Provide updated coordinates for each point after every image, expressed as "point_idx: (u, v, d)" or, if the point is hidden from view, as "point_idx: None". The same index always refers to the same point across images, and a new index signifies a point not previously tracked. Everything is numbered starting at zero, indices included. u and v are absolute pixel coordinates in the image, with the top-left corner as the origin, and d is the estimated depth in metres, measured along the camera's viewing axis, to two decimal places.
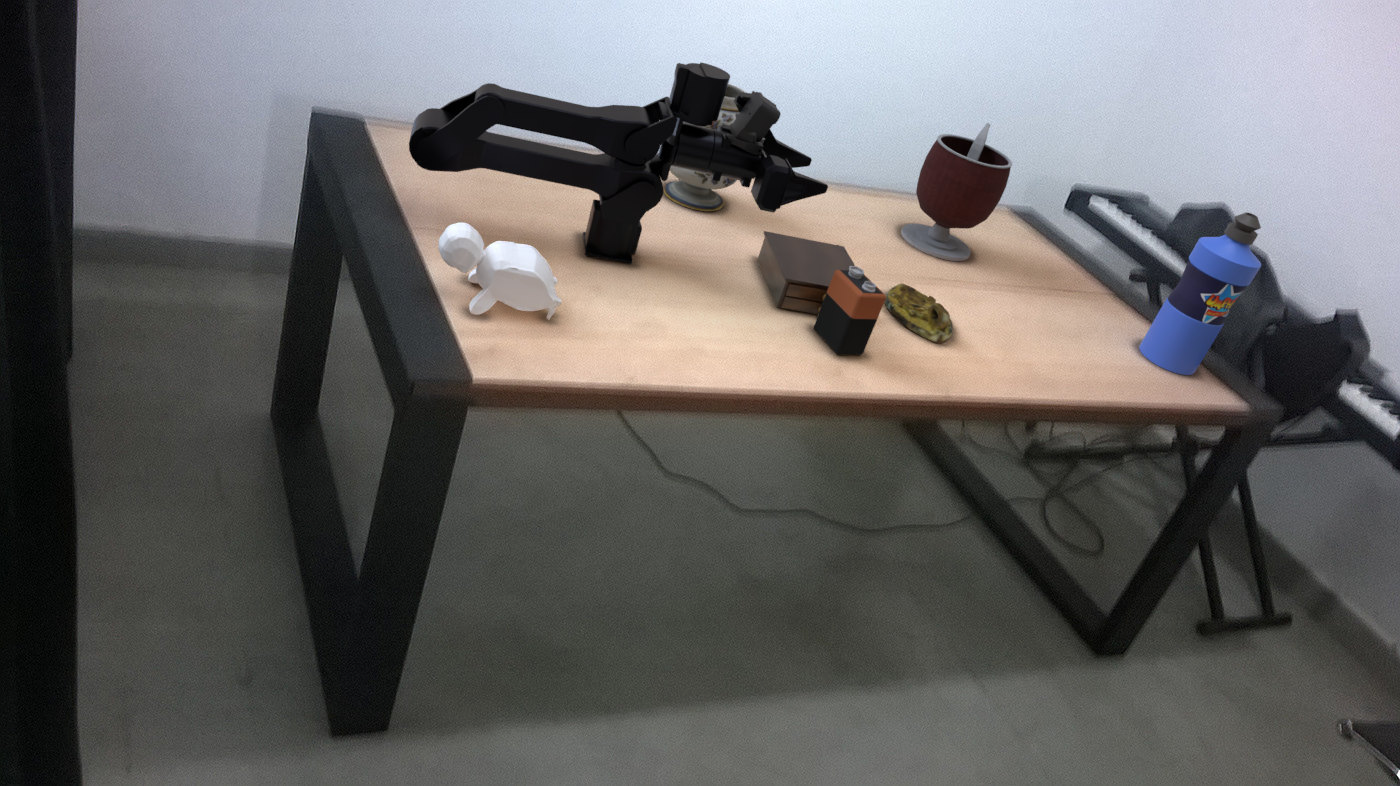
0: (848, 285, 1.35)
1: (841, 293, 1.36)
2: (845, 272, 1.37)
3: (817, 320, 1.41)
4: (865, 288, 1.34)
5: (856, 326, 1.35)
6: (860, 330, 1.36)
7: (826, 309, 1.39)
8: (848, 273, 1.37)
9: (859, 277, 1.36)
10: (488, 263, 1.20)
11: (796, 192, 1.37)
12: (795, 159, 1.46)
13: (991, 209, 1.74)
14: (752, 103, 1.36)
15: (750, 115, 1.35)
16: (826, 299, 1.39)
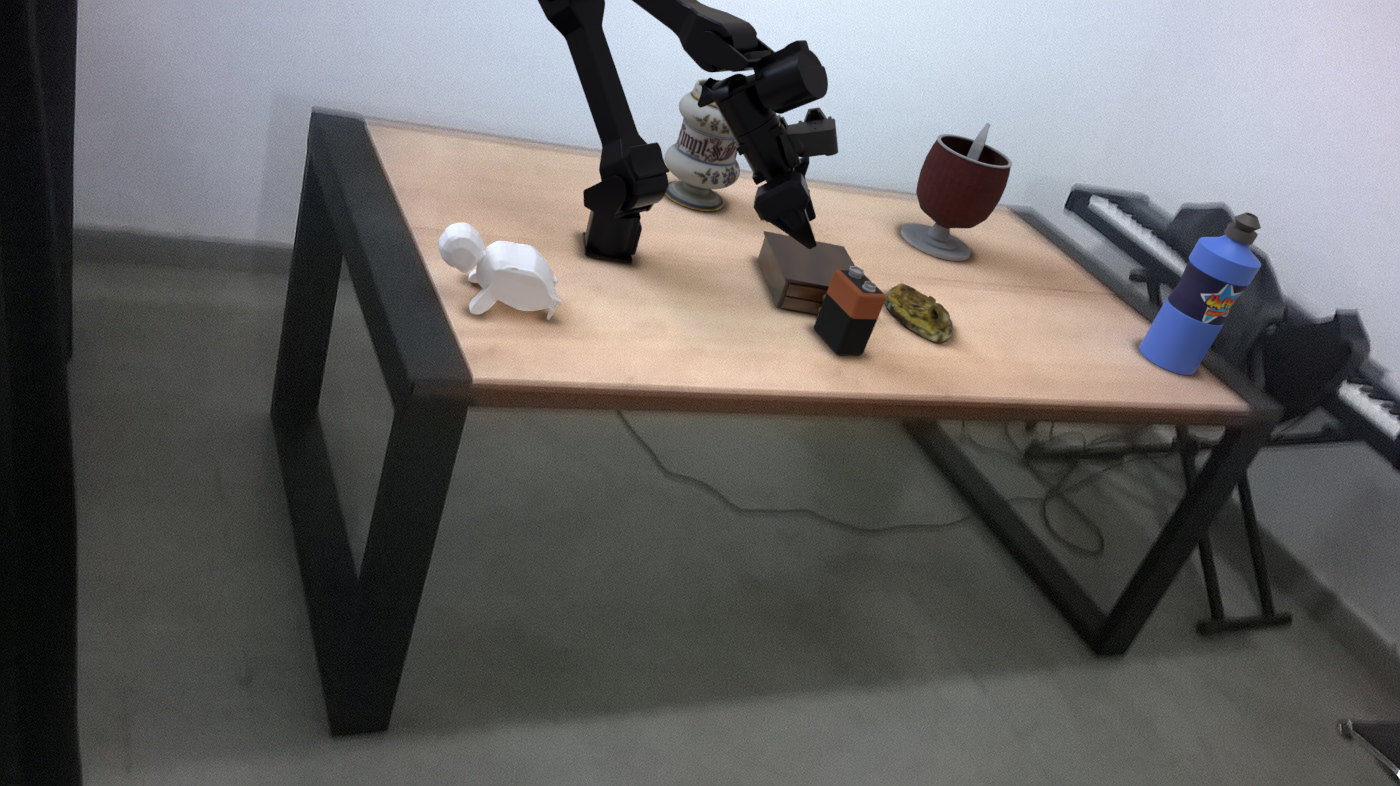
0: (848, 285, 1.35)
1: (841, 293, 1.36)
2: (845, 272, 1.37)
3: (817, 320, 1.41)
4: (865, 288, 1.34)
5: (856, 326, 1.35)
6: (860, 330, 1.36)
7: (826, 309, 1.39)
8: (848, 273, 1.37)
9: (859, 277, 1.36)
10: (488, 263, 1.20)
11: (790, 224, 1.27)
12: None
13: (991, 209, 1.74)
14: (823, 123, 1.26)
15: (815, 129, 1.25)
16: (826, 299, 1.39)
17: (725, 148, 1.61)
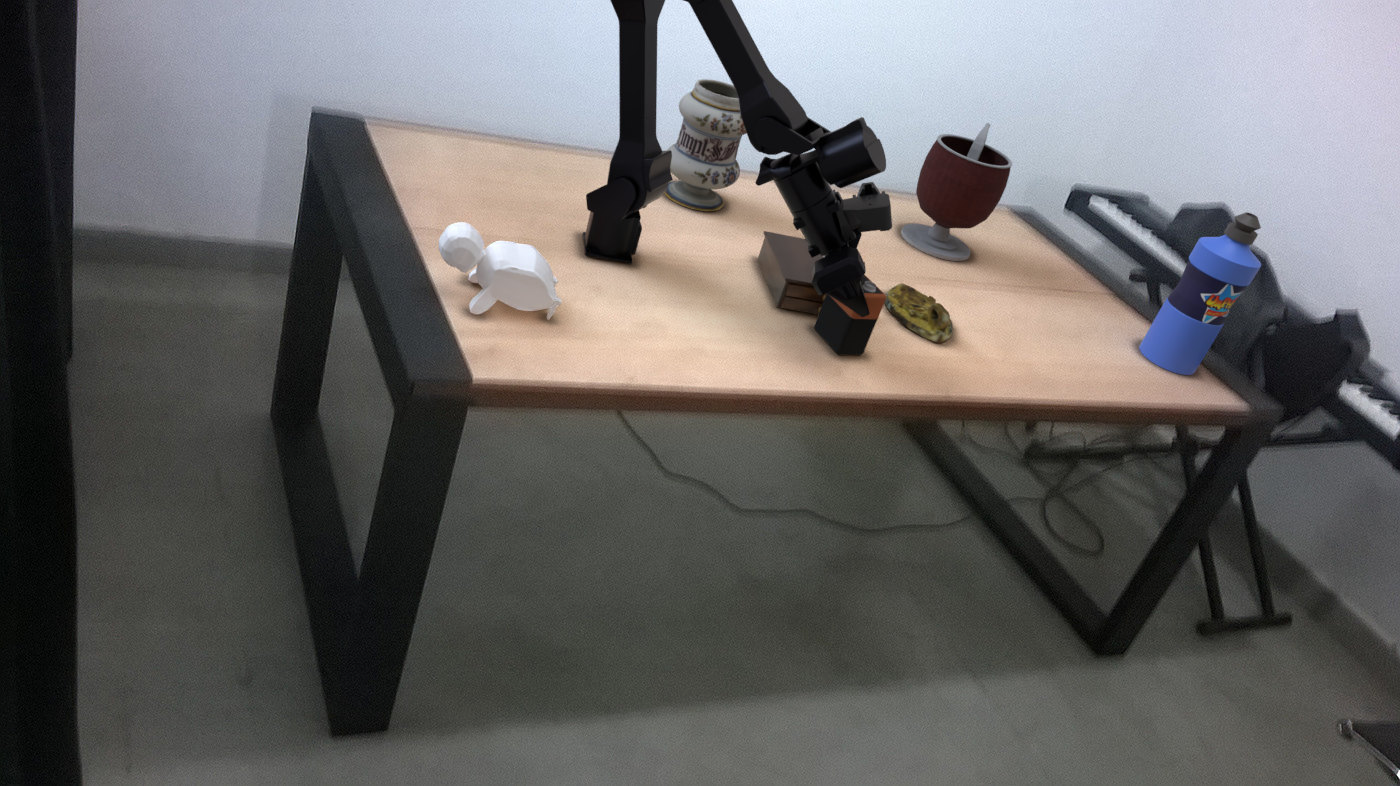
0: None
1: None
2: None
3: (817, 320, 1.41)
4: (865, 288, 1.34)
5: (856, 326, 1.35)
6: (860, 330, 1.36)
7: (826, 309, 1.39)
8: None
9: None
10: (488, 263, 1.20)
11: (845, 295, 1.31)
12: None
13: (991, 209, 1.74)
14: (878, 199, 1.31)
15: (870, 206, 1.29)
16: (826, 299, 1.39)
17: (725, 148, 1.61)
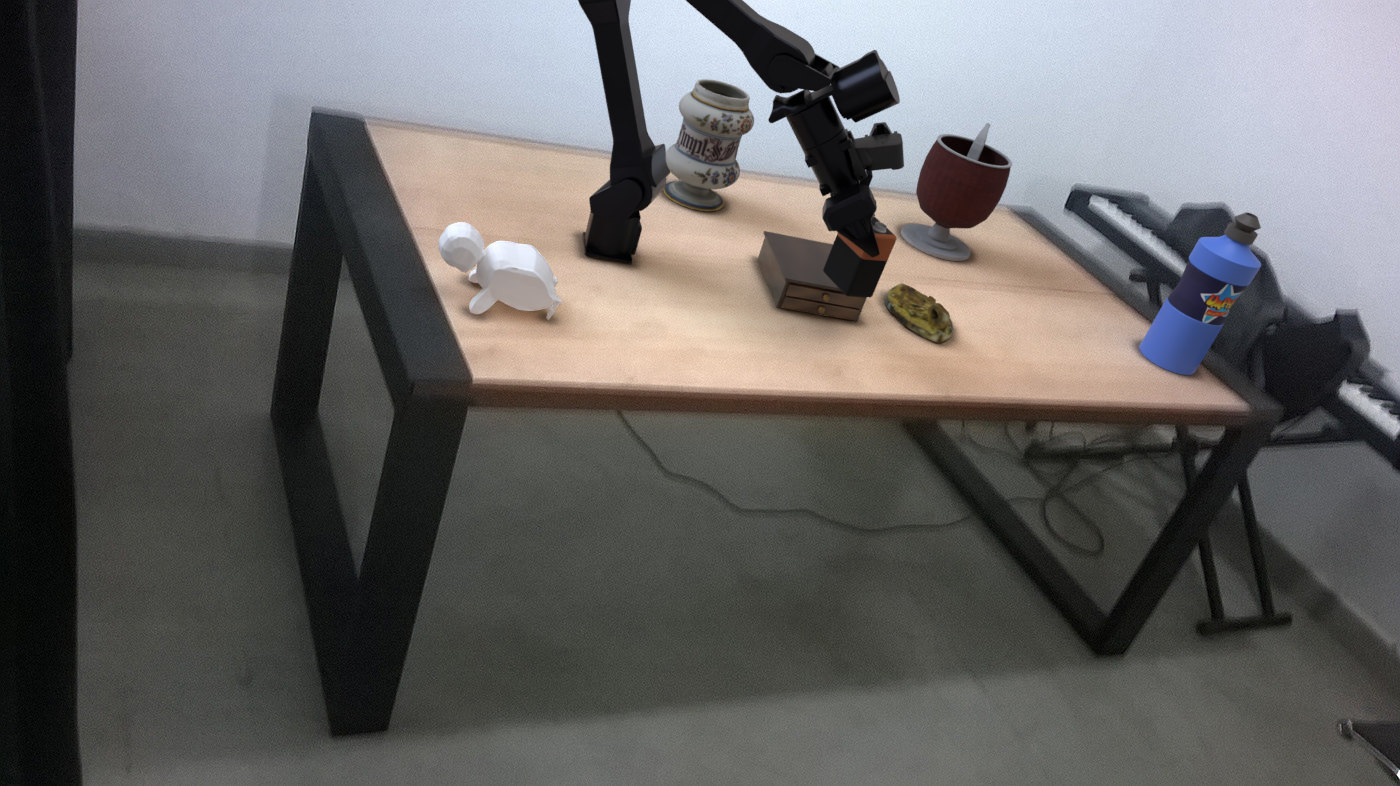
0: None
1: None
2: None
3: (827, 263, 1.40)
4: (876, 229, 1.34)
5: (866, 267, 1.35)
6: (870, 271, 1.36)
7: (836, 251, 1.39)
8: None
9: None
10: (487, 263, 1.20)
11: (855, 233, 1.31)
12: None
13: (991, 209, 1.74)
14: (890, 138, 1.30)
15: (882, 144, 1.29)
16: (836, 241, 1.39)
17: (725, 148, 1.61)
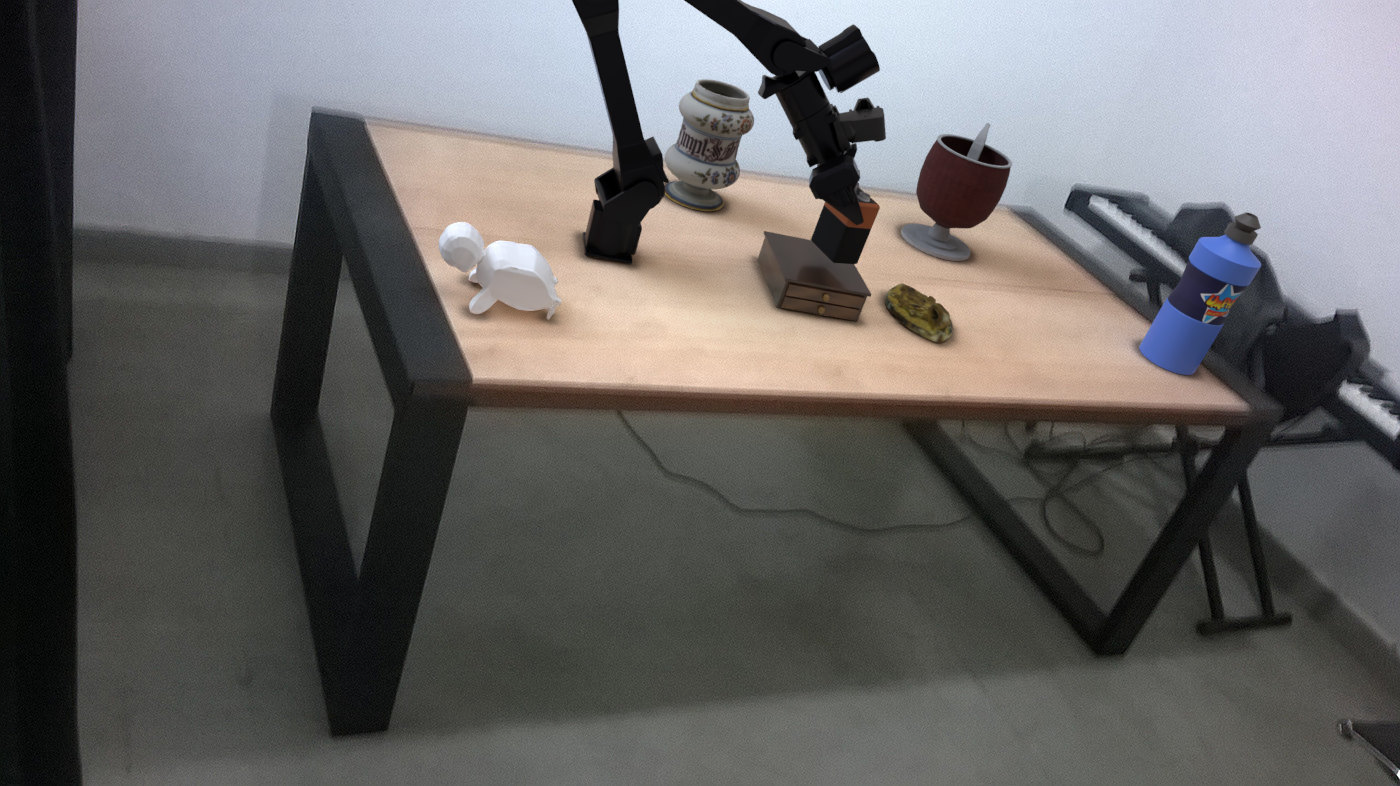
0: None
1: None
2: None
3: (814, 232, 1.49)
4: (860, 198, 1.42)
5: (851, 235, 1.43)
6: (855, 239, 1.44)
7: (823, 220, 1.47)
8: None
9: (855, 189, 1.45)
10: (488, 263, 1.20)
11: (840, 202, 1.39)
12: None
13: (991, 209, 1.74)
14: (872, 112, 1.39)
15: (865, 117, 1.37)
16: (823, 211, 1.47)
17: (725, 148, 1.61)
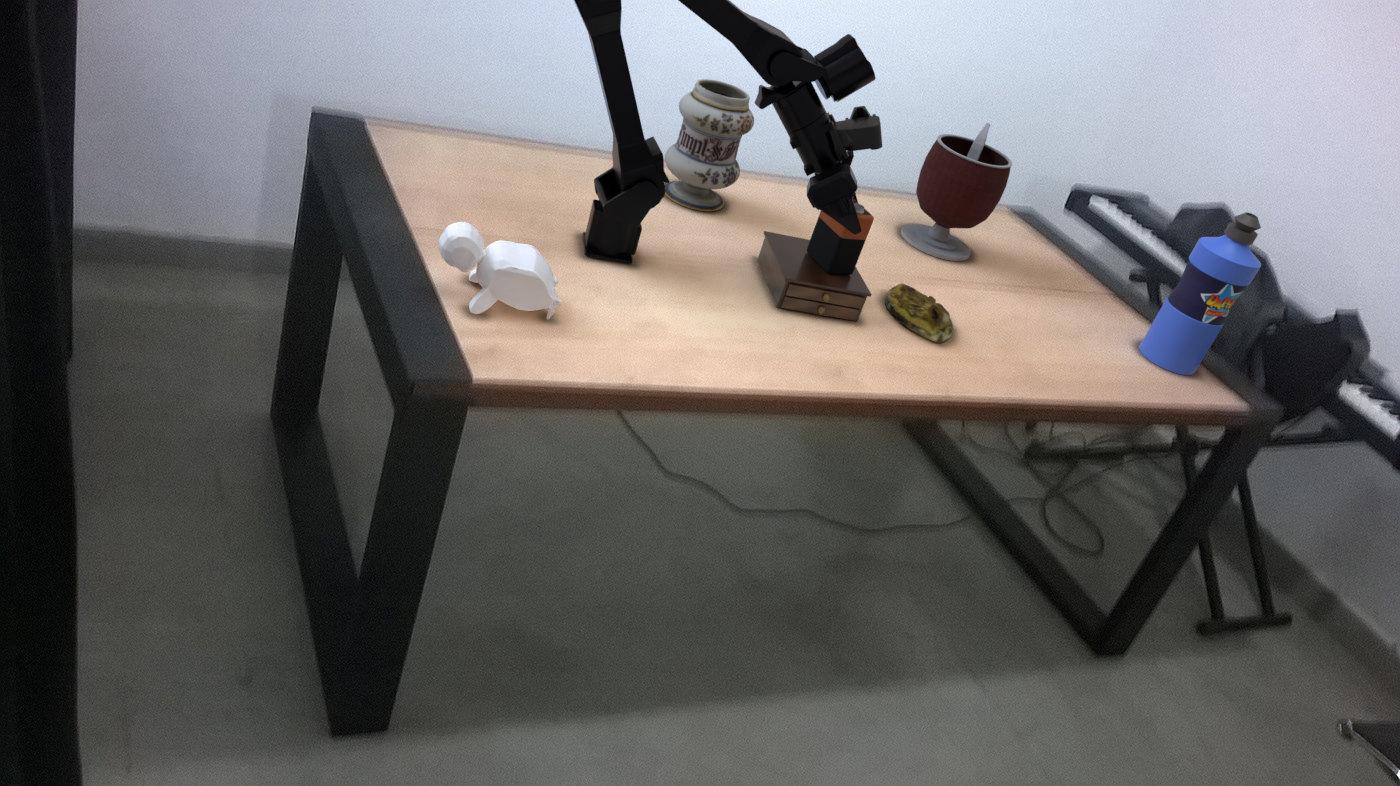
0: None
1: None
2: None
3: (810, 243, 1.50)
4: None
5: (846, 246, 1.45)
6: (850, 250, 1.45)
7: (818, 232, 1.48)
8: None
9: None
10: (487, 262, 1.20)
11: (838, 212, 1.40)
12: None
13: (991, 209, 1.74)
14: (869, 120, 1.40)
15: (861, 126, 1.38)
16: (818, 223, 1.48)
17: (725, 148, 1.61)
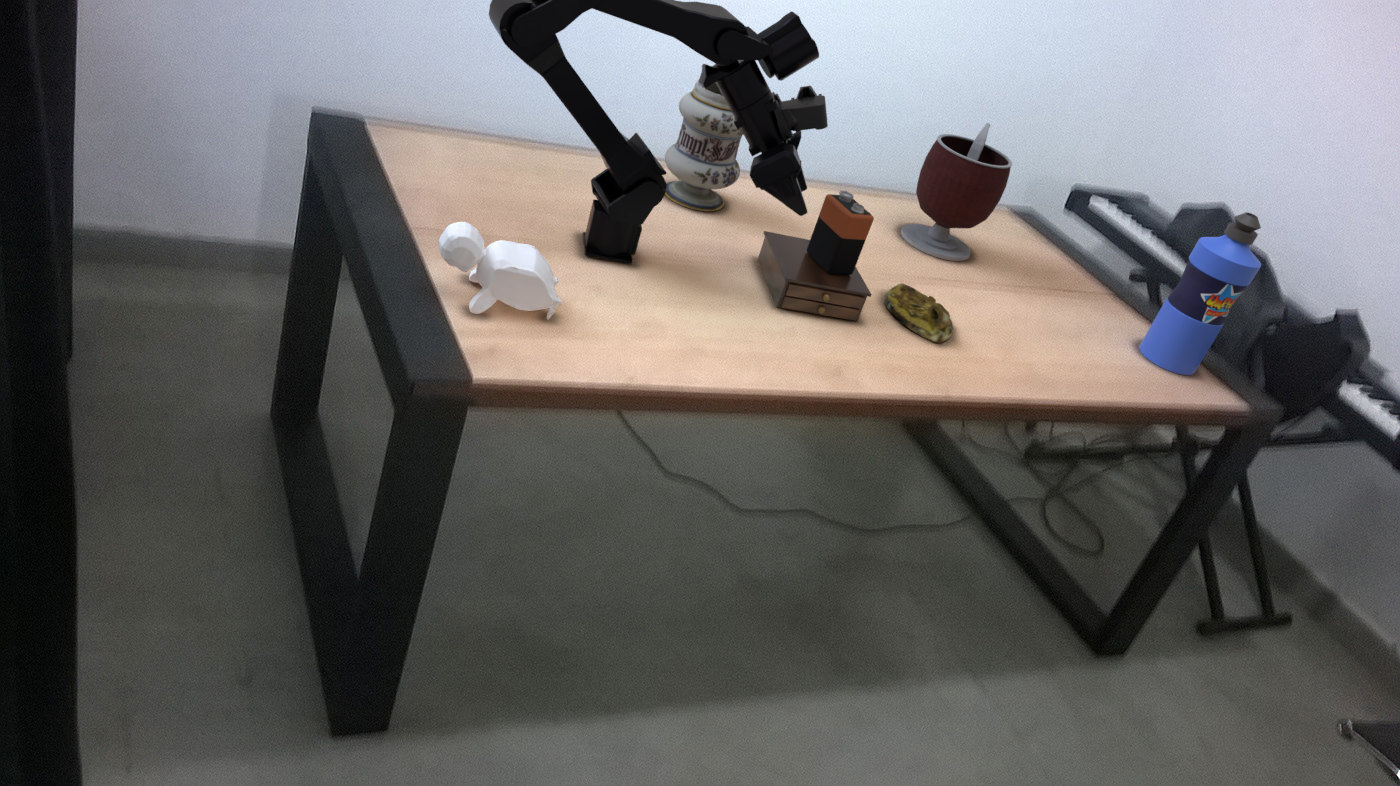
0: (838, 207, 1.44)
1: (831, 215, 1.45)
2: (835, 196, 1.46)
3: (810, 243, 1.50)
4: (854, 209, 1.43)
5: (846, 246, 1.45)
6: (850, 250, 1.45)
7: (818, 232, 1.48)
8: (838, 197, 1.46)
9: (849, 201, 1.46)
10: (488, 262, 1.20)
11: (783, 193, 1.38)
12: None
13: (991, 209, 1.74)
14: (814, 100, 1.38)
15: (806, 105, 1.36)
16: (818, 223, 1.48)
17: (725, 148, 1.61)
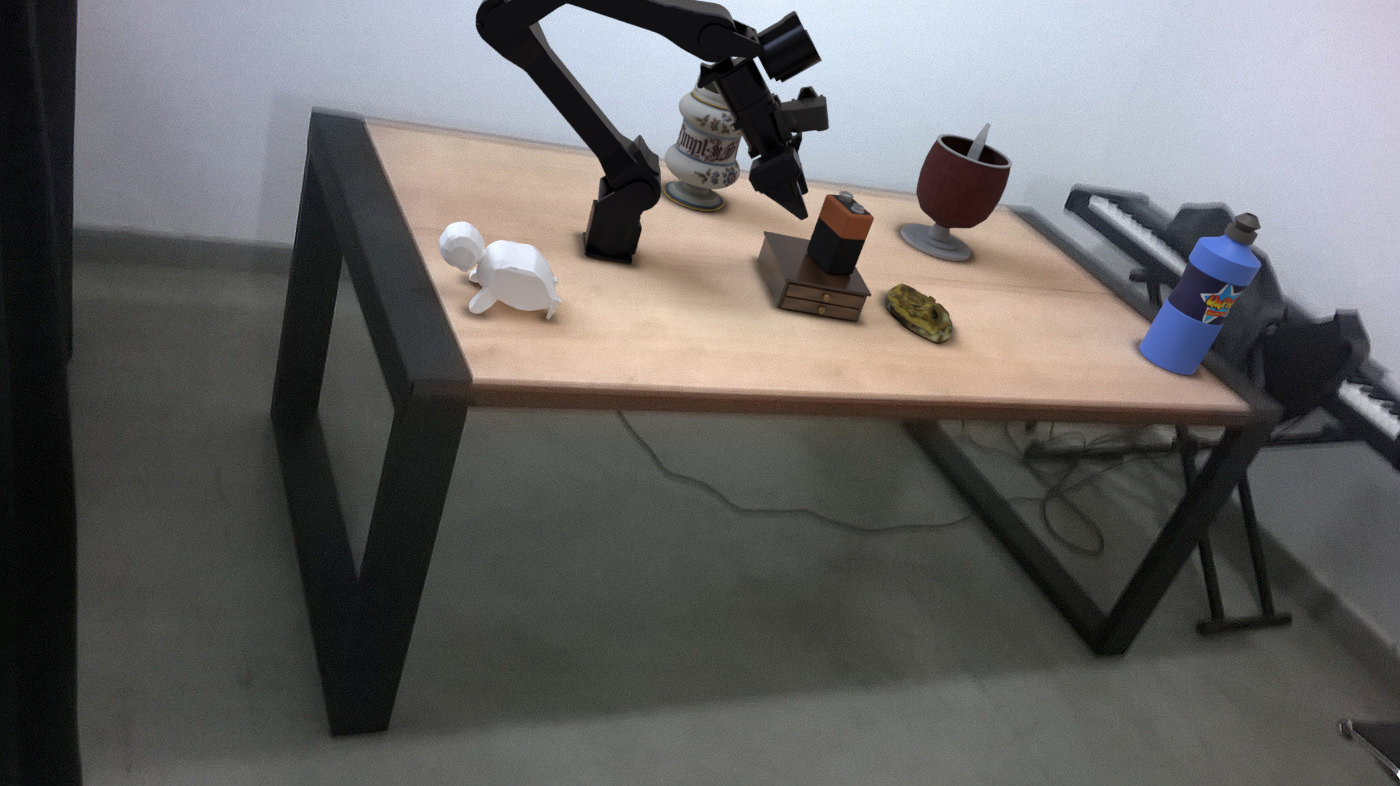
0: (838, 207, 1.44)
1: (831, 215, 1.45)
2: (835, 196, 1.46)
3: (810, 243, 1.50)
4: (854, 209, 1.43)
5: (846, 246, 1.45)
6: (850, 250, 1.45)
7: (818, 232, 1.48)
8: (838, 197, 1.46)
9: (849, 201, 1.46)
10: (488, 262, 1.20)
11: (783, 196, 1.34)
12: None
13: (991, 209, 1.74)
14: (815, 101, 1.34)
15: (806, 106, 1.32)
16: (818, 223, 1.48)
17: (725, 148, 1.61)
